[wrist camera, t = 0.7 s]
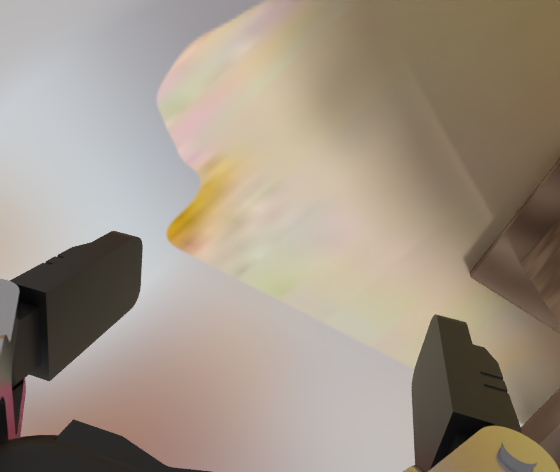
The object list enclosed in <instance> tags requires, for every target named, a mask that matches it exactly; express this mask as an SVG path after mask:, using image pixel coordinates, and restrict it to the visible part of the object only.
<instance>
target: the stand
mask: <svg viewBox="0 0 560 472" xmlns="http://www.w3.org/2000/svg"><path fill="white" fill-rule="evenodd" d="M470 276H471V278H473V279H475V280H476V281H478V282H479V283H481V284H483V285H484V286H486V287H487V288H489V289H490V290H492V291H494V292H495V293H497V294H498V295H500V296H502V297H503V298H505V299H506V300H508V301H510V302H511V303H513V304H514V305H516V306H517V307H519V308H521V309H522V310H524V311H525V312H527V313H529V314H530V315H532V316H533V317H535V318H536V319H538V320H540V321H541V322H543V323H544V324H546V325H548V326H549V327H551V328H552V329H554V330H556V331H557V332H559V333H560V159H559V160H558V162H557V163H556V164H555V165H554V167H553V168H552V169H551V171H550V172H549V173H548V174H547V176H546V177H545V178H544V179H543V181H542V182H541V183H540V185H539V186H538V187H537V188H536V190H535V191H534V192H533V193H532V195H531V196H530V197H529V199H528V200H527V201H526V202H525V204H524V205H523V206H522V207H521V209H520V210H519V211H518V213H517V214H516V215H515V216H514V218H513V219H512V220H511V221H510V223H509V224H508V225H507V227H506V228H505V229H504V230H503V232H502V233H501V234H500V235H499V237H498V238H497V239H496V241H495V242H494V243H493V244H492V246H491V247H490V248H489V249H488V251H487V252H486V253H485V255H484V256H483V257H482V258H481V260H480V261H479V262H478V263H477V265H476V266H475V267H474V269H473V270H472V271H471V272H470ZM521 431H522V433H523V435H525V436H527V437H529V438H530V439H532V440H533V441H535V442H536V443H537V444H539V445H540V446H541V447H542V448H543V449H544V450H545V451H546V452H547V453H548V454H549V455H550V456H551V457H552V458H553V460H554V461H555V462H556V464H557V466H558V468H559V470H560V389H559V390H558V391H557V392H556V393H555V394H554V395H553V396H552V397H551V398H550V399H549V400H548V401H547V402H546V403H545V404H544V405H543V406H542V407H541V408H540V409H539V410H538V411H537V412H536V413H535V414H534V415H533V416H532V417H531V418H530V419H529V420H528V421H527V422H526V423H525V424H524V425H523V426H522V427H521Z"/></svg>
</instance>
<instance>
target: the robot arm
mask: <svg viewBox="0 0 560 472" xmlns="http://www.w3.org/2000/svg"><path fill="white" fill-rule="evenodd" d="M141 266H142V241H141V239H140V238H139V237H135V236H131V235H128V234H124V233H120V232H116V231H111V232H110V233H108V234H106V235H104V236H102V237H100V238H99V239H97V240H95V241H93V242H91V243H87V244H83V245H79V246H75V247H72V248H70V249H68V250H66V251H64V252H62V253H61V254H59V255H58V257H53V258H51V259H50V260H48V261H46V263H42V264H40V265H38V266H36V267H34V268H33V269H31V270H29V271H27V272H25V273H23V274H21V275H20V276H18V277H16V278H14V279H12V280H10V281H7V280H4V279H0V472H210V471H201V470H191V469H181V468H180V469H179V468H172V467H168V466H166V465H164V464H162V463H161V462H159V461H158V460H156V459H155V458H154V457H152V456H151V455H149V454H148V453H146V452H145V451H143V450H141V449H140V448H139V447H137V446H136V445H134V444H133V443H131V442H130V441H128V440H127V439H126V438H124V437H122V436H120V435H117V434H114V433H111V432H108V431H105V430H102V429H99V428H97V427H94V426H91V425H88V424H85V423H82V422H79V421H76V420H72V422H71V423H70V424H69V425H68V426H67V427H66V428H65V429H64V430H63V431H62V432H61V434H59V435H36V436H26V437H21V428H22V419H23V411H24V402H25V393H26V385H25V377H26V376H27V375H33V376H36V377H38V378H41V379H44V380H47V381H50V380H52V379H53V378H54V377H55V376H56V375H57V374H58V373H59V372H61V371H62V370H63V369H64V368H65V367H66V366H67V365H68V364H70V363H71V362H72V361H73V360H74V359H75V358H76V357H77V356H79V355H80V354H81V353H82V352H83V351H84V350H85V349H86V348H88V347H89V346H90V345H91V344H92V343H93V342H94V341H95V340H96V339H98V338H99V337H100V336H101V335H102V334H103V333H105V332H106V331H107V330H108V329H109V328H110V327H111V326H112V325H113V324H115V323H116V322H117V321H118V320H119V319H120V318H121V317H123V315H124V314H126V313H127V312H128V311H129V310H130V309H131V308H132V307H133V306H134V305H135V303H136V301H137V299H138V296H139V292H140V286H141ZM507 391H508V390H507V388H506V385H505V382H504V381H503V376H502V373H501V370H500V368H499V365H498V362H497V361H496V360H495V359H494V358H493V357H492V356H491V355H490V353H489V352H488V351H487V350H486V349H485V348H484V347H480V346H476V345H473V344H472V341H471V337H470V334H469V330H468V326H467V323H466V322H462V321H459V320H455V319H451V318H447V317H443V316H440V315H434V316H433V318H432V320H431V322H430V325H429V328H428V331H427V334H426V337H425V340H424V343H423V346H422V348H421V351H420V354H419V357H418V360H417V363H416V366H415V370H414V374H413V381H412V406H413V426H414V449H415V465H414V466H411V467H409V468H407V469H406V470H405V471H403V472H560V470H559V468H558V466H557V464H556V462H555V461H554V460H553V458H552V457H551V456H550V455H549V454H548V453H547V452H546V451H545V450H544V449H543V448H542V447H541V446H540V445H539V444H537V443H536V442H535V441H533V440H532V439H530V438H529V437H527V436H525V435H523V433H522V431H521V428H520V425H519V422H518V419H517V416H516V413H515V410H514V408H513V405H512V402H511V399H510V396H509V394H508V393H507Z"/></svg>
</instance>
